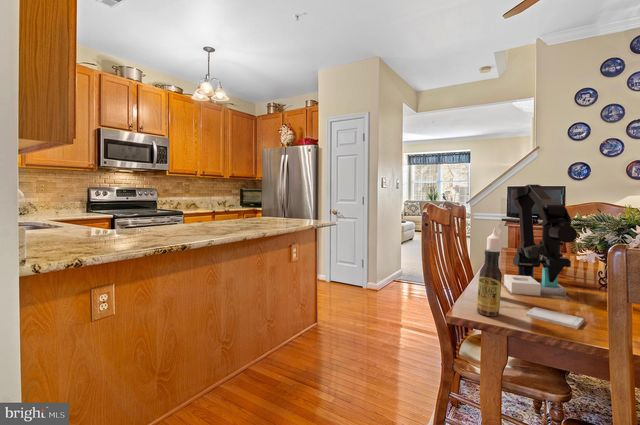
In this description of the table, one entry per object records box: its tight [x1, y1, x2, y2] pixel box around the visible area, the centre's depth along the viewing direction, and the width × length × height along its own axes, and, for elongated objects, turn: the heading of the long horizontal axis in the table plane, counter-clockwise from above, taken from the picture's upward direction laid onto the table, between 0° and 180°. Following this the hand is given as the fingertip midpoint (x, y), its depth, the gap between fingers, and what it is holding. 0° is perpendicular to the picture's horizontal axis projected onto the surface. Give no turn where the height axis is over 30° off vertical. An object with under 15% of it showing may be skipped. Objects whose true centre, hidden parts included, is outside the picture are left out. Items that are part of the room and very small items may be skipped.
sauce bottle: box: [476, 248, 503, 317], centre depth 99 cm, size 7×6×20 cm
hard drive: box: [525, 306, 585, 330], centre depth 95 cm, size 2×8×12 cm
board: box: [501, 282, 573, 301], centre depth 120 cm, size 16×18×1 cm
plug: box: [541, 267, 559, 287], centre depth 118 cm, size 3×4×7 cm
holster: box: [537, 281, 567, 296], centre depth 118 cm, size 7×8×2 cm
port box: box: [503, 274, 541, 296], centre depth 121 cm, size 12×9×4 cm
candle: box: [486, 228, 503, 272], centre depth 112 cm, size 7×7×25 cm
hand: (549, 280), depth 118 cm, fingers closed on plug, 3 cm apart
